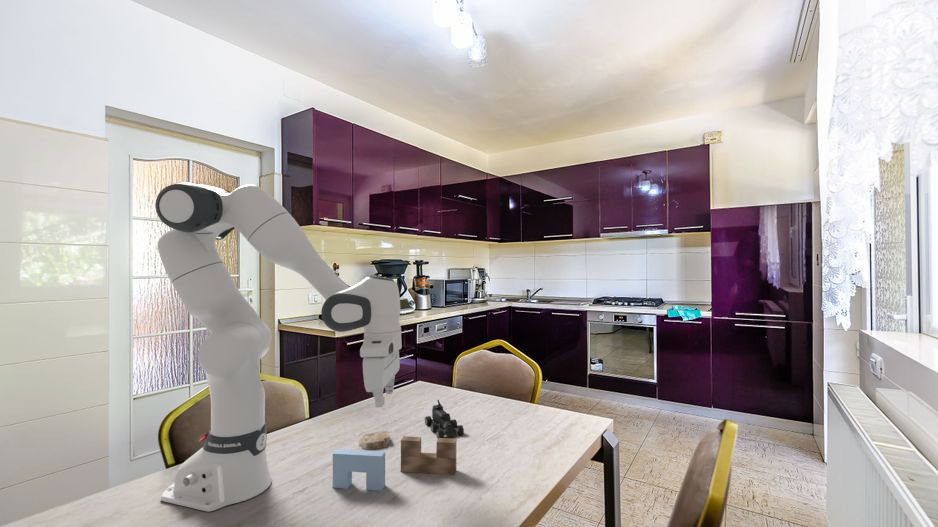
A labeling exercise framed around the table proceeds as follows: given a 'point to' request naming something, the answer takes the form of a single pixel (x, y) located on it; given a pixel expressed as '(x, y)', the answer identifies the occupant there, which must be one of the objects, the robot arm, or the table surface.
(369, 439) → the stone
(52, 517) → the table surface
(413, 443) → the wooden u-shaped block
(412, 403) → the table surface
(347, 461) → the blue arch block
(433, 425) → the toy vehicle
